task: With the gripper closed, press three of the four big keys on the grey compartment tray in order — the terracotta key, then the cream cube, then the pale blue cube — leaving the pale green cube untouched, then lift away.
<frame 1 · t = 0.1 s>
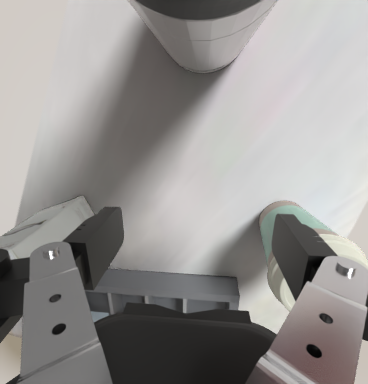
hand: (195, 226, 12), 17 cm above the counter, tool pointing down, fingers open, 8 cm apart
coffee cup: (281, 219, 30), on the counter
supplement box: (75, 222, 33), on the counter
grey compartment tray: (153, 307, 38), on the counter
pale blue cube: (91, 332, 34), point 5 cm above the counter, slide at 0.0 cm
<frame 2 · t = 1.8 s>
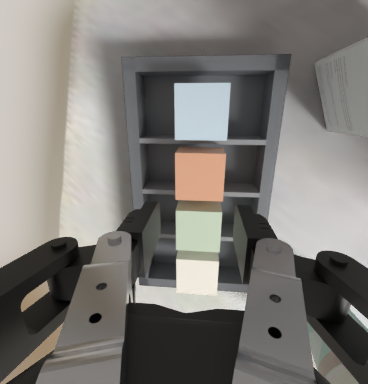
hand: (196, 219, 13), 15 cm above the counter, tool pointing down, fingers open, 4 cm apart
terracotta key: (200, 172, 22), point 5 cm above the counter, slide at 0.0 cm
cream cube: (197, 266, 26), point 5 cm above the counter, slide at 0.0 cm
pale green cube: (198, 223, 24), point 5 cm above the counter, slide at 0.0 cm
coffee cup: (318, 305, 33), on the counter
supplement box: (355, 84, 23), on the counter
grey compartment tray: (200, 183, 28), on the counter
pale blue cube: (201, 112, 20), point 5 cm above the counter, slide at 0.0 cm
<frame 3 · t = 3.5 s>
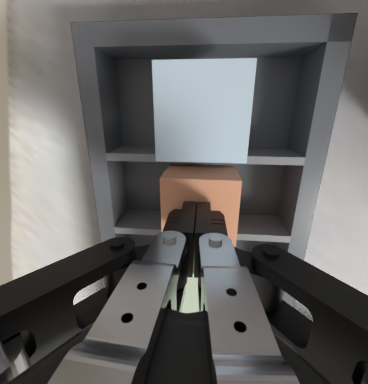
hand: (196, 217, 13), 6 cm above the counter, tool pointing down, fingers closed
terracotta key: (200, 204, 15), point 5 cm above the counter, slide at 0.8 cm, touching gripper
pale green cube: (197, 282, 16), point 5 cm above the counter, slide at 0.0 cm
grey compartment tray: (200, 213, 20), on the counter
pale blue cube: (202, 113, 12), point 5 cm above the counter, slide at 0.0 cm
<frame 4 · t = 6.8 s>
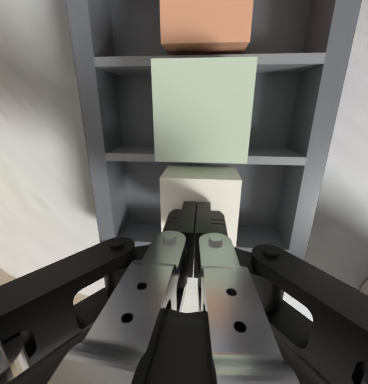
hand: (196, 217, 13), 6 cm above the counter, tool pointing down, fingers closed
terracotta key: (206, 4, 12), point 3 cm above the counter, slide at 2.4 cm
cream cube: (200, 204, 15), point 4 cm above the counter, slide at 0.9 cm, touching gripper
pale green cube: (202, 113, 12), point 5 cm above the counter, slide at 0.0 cm
grey compartment tray: (205, 70, 16), on the counter
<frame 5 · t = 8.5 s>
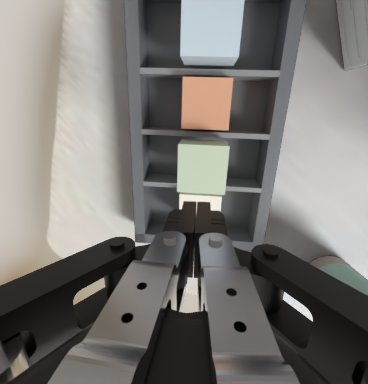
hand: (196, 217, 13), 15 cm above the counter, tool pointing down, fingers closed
terracotta key: (206, 104, 22), point 3 cm above the counter, slide at 2.4 cm
cream cube: (199, 207, 26), point 3 cm above the counter, slide at 2.4 cm
pale green cube: (202, 165, 22), point 5 cm above the counter, slide at 0.0 cm
coffee cup: (324, 272, 31), on the counter
grey compartment tray: (204, 131, 26), on the counter
pale blue cube: (210, 29, 18), point 5 cm above the counter, slide at 0.0 cm
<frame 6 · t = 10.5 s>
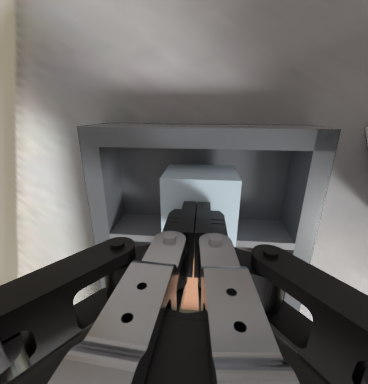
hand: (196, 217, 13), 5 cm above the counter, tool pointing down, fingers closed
terracotta key: (198, 268, 17), point 3 cm above the counter, slide at 2.4 cm
pale green cube: (195, 351, 17), point 5 cm above the counter, slide at 0.0 cm
grey compartment tray: (198, 272, 21), on the counter
pale blue cube: (199, 204, 15), point 4 cm above the counter, slide at 1.7 cm, touching gripper
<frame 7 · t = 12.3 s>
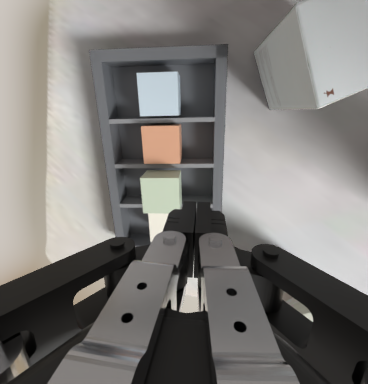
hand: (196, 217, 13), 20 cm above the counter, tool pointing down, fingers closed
terracotta key: (163, 143, 28), point 3 cm above the counter, slide at 2.4 cm
cream cube: (167, 221, 32), point 3 cm above the counter, slide at 2.4 cm
pale green cube: (162, 191, 28), point 5 cm above the counter, slide at 0.0 cm
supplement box: (289, 69, 28), on the counter
grey compartment tray: (167, 160, 32), on the counter
pale blue cube: (160, 95, 27), point 3 cm above the counter, slide at 2.4 cm
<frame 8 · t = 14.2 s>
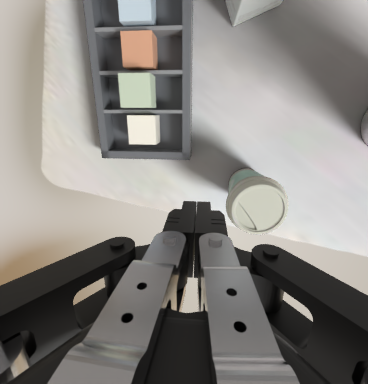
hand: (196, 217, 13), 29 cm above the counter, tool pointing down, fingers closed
terracotta key: (140, 52, 33), point 3 cm above the counter, slide at 2.4 cm
cream cube: (144, 129, 37), point 3 cm above the counter, slide at 2.4 cm
pale green cube: (138, 91, 33), point 5 cm above the counter, slide at 0.0 cm
coffee cup: (244, 183, 42), on the counter
grey compartment tray: (146, 75, 37), on the counter
pale blue cube: (137, 6, 32), point 3 cm above the counter, slide at 2.4 cm
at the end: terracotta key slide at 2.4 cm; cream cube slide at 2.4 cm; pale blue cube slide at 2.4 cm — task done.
